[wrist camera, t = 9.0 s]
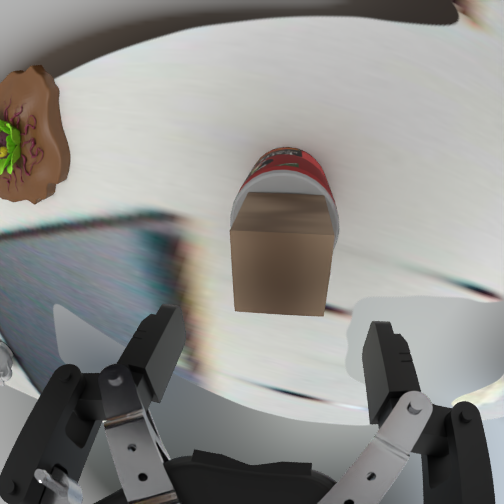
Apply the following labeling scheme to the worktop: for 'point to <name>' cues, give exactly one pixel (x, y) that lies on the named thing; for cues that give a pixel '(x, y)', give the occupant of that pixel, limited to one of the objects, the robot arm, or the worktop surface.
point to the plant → (31, 136)
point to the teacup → (5, 363)
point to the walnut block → (282, 254)
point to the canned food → (288, 180)
